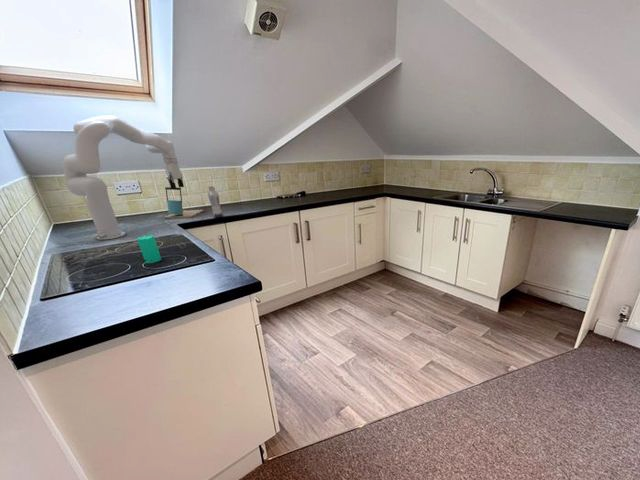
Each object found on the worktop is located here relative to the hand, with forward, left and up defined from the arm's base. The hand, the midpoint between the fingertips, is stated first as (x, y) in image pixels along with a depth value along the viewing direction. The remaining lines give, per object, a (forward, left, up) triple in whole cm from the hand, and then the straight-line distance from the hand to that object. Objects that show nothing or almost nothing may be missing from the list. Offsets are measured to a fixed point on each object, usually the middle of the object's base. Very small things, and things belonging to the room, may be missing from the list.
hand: (177, 187), depth 204 cm
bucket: (-1, +2, -9) cm, 9 cm away
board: (0, 0, -19) cm, 19 cm away
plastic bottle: (-12, -28, -19) cm, 36 cm away
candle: (-93, -33, -19) cm, 100 cm away
